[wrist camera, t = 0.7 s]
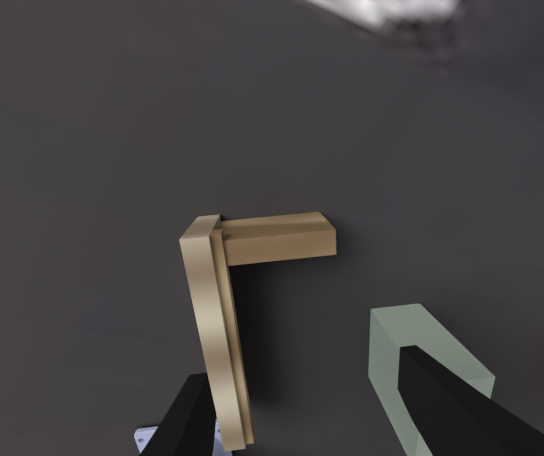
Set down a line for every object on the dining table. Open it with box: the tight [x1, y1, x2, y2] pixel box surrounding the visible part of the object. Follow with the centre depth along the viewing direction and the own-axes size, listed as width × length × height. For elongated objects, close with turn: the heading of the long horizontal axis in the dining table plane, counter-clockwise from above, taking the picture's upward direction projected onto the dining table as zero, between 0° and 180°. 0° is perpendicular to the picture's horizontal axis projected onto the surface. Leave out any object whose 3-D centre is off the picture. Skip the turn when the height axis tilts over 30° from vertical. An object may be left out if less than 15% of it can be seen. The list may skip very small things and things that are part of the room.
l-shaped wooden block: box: [179, 212, 336, 451], centre depth 18 cm, size 16×8×4 cm, turn 5°
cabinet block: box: [368, 304, 495, 456], centre depth 19 cm, size 7×4×7 cm, turn 5°
